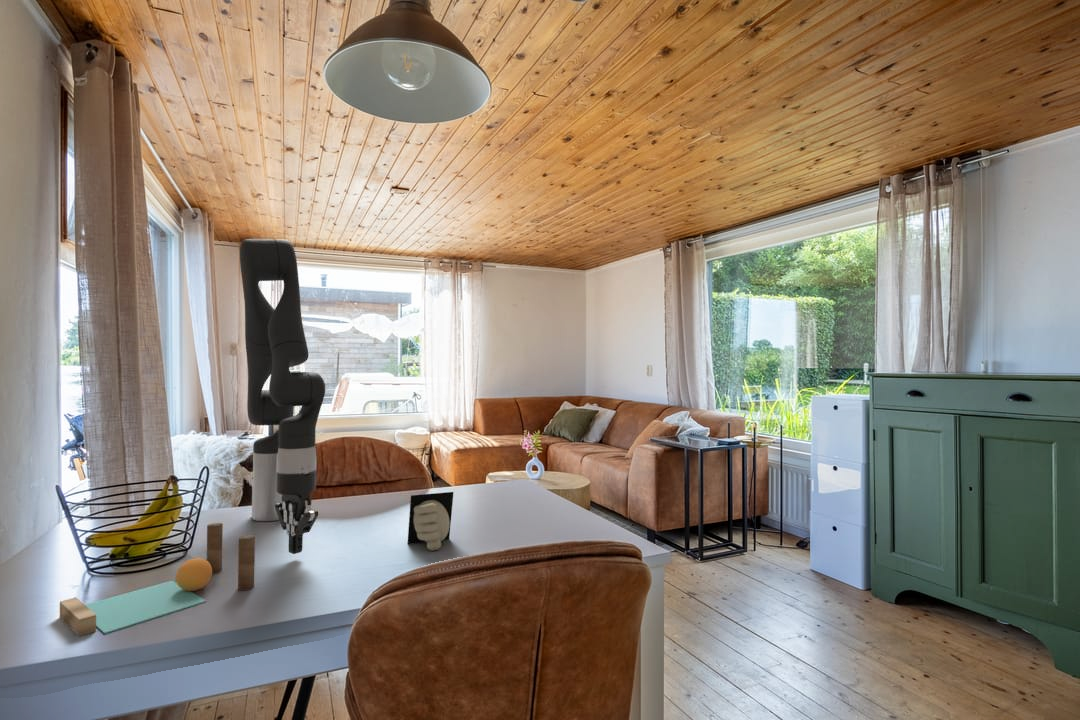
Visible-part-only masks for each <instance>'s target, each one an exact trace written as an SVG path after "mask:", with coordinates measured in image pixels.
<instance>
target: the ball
mask: <svg viewBox="0 0 1080 720" xmlns="http://www.w3.org/2000/svg"><path fill="white" fill-rule="evenodd" d="M212 575H213V574H212V567H211V565H210V563H209V562H208V561H207V559H205V558H203V557H202V558H201V557H195V558H191V559H188V560H186V561H185V562H183V563H181V565H180V566H179V567H178V569H177V571H176V574H175V581H176V582H175V583H177V584H178V586H179V587H180V588H182V589H183V590H186V591H190V592H195V591H197V590H200V589H203V588H204V587H205V586H206V585H207V584H208V583H209V581H210V580H211V578H212Z"/></svg>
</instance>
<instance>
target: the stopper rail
mask: <svg viewBox="0 0 1080 720" xmlns="http://www.w3.org/2000/svg"><path fill="white" fill-rule="evenodd" d="M59 618H60V620H62V621H63V622H64V623H65V624H66V625H67V626H68V627H69V628H70V629H71V630H72V631H73V632H74V633H75V634H76V635H77V636H78V637H83V636H85V635H88V634H92V633H95V632H97V627H96V614H95V613H94V612H93V611H91V610H90V609H89V608H88V607H87V606H85V604H84V602H82V601H81V600H80V599H78V598H77V597H72V598H68V599H63V600H61V601H59Z"/></svg>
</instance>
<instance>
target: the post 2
mask: <svg viewBox="0 0 1080 720" xmlns="http://www.w3.org/2000/svg"><path fill="white" fill-rule="evenodd" d="M255 544H256V536H255V535H243V536H240V537H238V553H237V555H238V556H237V557H238V558H237V559H238V560H237V566H238V567H237V590H238V591H240V592H241V591H242V592H244V591H248V590H252V589H254V587H255V563H256V562H255V560H256V559H255V556H256V555H255V552H256V551H255V550H256V548H255V547H256V545H255Z"/></svg>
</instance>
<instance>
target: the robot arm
mask: <svg viewBox="0 0 1080 720" xmlns="http://www.w3.org/2000/svg"><path fill="white" fill-rule="evenodd" d="M239 263H240V274H241V281H242V282H241V283H242V290H243V300H244V337H245V338H244V339H245V352H246V363H247V365H246V366H247V401H246V402H247V404H246V405H247V407H246V408H247V418H248V421H249V423H250V424H251V425H252V426H253V425H254V426H278V429H277V430H276V431H275V432H274V433H272V434H270V435H267V436H264V437H261V438H259V439H257V440H255V441H254V443H253V445H252V446H253V449H252V451H253V452H252V481H251V485H252V486H251V517H252V520H254V521H256V522H273V521H279V523H280V526H281V528H282V530H283V531H286V534H287V535H288V553H290V554H293V555H296V554H300V553H301V552H303V543H304V542H303V535H304V534H307V533H310V531H311V529H312V528H313V526H314V523H315V522H316V521H317V519H318V516H319V511H318V510H313V508H312V507H311V506H312V498H311V494H312V492H314V491H315V490H316V488H317V452H316V428H317V423H318V420H319V419H318V418H319V415H320V412H321V409H322V404H323V401H324V398H325V396H326V384H325V380H324V378H323V377H322V375H320V374H319V373H318V372H314V371H300V372H299V371H298V372H297V371H290V368H292V367H297V366H300V365H302V364H305V362H306V361H308V359H309V355H310V354H309V348H308V343H307V340H306V335H305V331H304V330H305V329H304V325H303V319H302V308H301V292H300V281H299V279H300V278H299V271H298V263H297V255H296V252H295V248H294V246H293V244H292V242H290V240H288V239H286V238H285V239H284V238H247V239H243V240H242V241H241V243H240V246H239ZM273 281H275V282H276V281H283V291H282V294H281V297H280V299H279V301H278V302H277V305H276V307H275V308H274V307H273V306H272V305H271V303H269V301H268V299H267V298H266V297H265V295H264V294H263V292H262V291H261V288H260V286H259V282H273ZM268 378H270V381H269V389H265V390H264V389H263V388H264V386H265V384H266V382H267V380H268ZM295 407H300V410H299V411H298V413H297V414H295V415H294V411H295V410H294V409H295Z"/></svg>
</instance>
